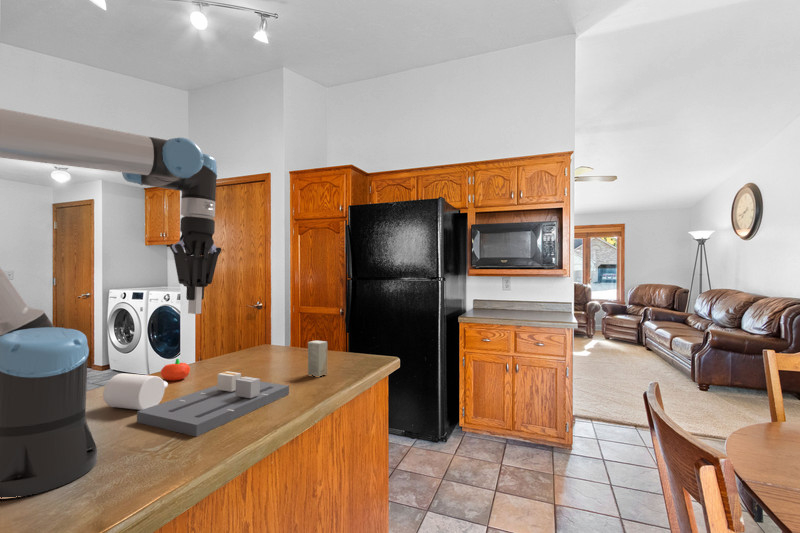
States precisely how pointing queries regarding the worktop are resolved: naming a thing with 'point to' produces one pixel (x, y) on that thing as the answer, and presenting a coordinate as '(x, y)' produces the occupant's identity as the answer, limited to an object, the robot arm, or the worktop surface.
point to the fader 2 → (247, 387)
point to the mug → (134, 391)
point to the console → (207, 409)
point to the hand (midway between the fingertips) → (194, 313)
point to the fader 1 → (227, 381)
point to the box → (317, 358)
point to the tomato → (175, 371)
